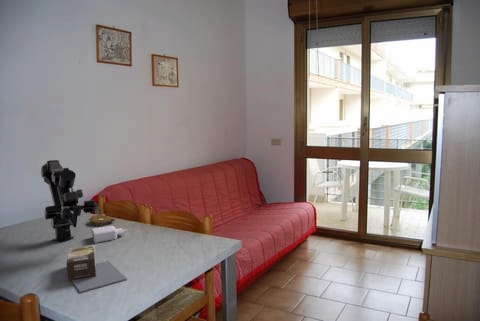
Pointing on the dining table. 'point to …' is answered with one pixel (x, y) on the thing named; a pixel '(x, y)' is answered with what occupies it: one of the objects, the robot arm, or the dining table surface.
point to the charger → (106, 233)
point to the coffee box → (81, 262)
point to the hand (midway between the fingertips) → (75, 226)
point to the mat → (100, 278)
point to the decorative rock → (101, 220)
